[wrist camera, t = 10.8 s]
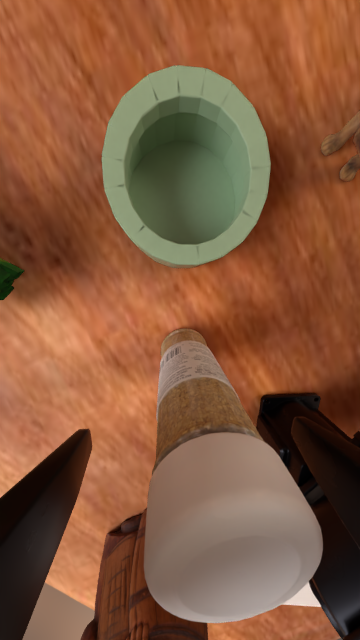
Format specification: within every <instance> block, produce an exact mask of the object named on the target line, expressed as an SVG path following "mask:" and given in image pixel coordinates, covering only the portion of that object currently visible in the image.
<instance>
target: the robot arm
mask: <svg viewBox="0 0 360 640" xmlns="http://www.w3.org/2000/svg"><path fill="white" fill-rule="evenodd" d="M266 400H267V401H266ZM319 403H320V396H318V395H317V394H316V393H307V394H284V395H265V396H263V397H262V398H261V403H260V410H259V415H258V419H257V426H256V429H257V431H258V433H259V435H260V436H261V438H262V439H263V441H265V442H266V443H267V444H268V445H269V446H270V447H271V448H273V449H274V451H275V452H276V453H277V454H278V456H279V457H280V458H281V460H282V462H283V463H284V465H285V466H286V468H287V470H288V471H289V473H290V474H291V476H292V478H293V479H294V481H295V482H296V484H297V486H298V487H299V489H300V491H301V492H302V494H303V496H304V497H305V499H306V501H307V502H308V504H309V506H310V507H311V509H312V511H313V513H314V515H315V516H316V519H317V521H318V523H319V525H320V528H321V532H322V538H323V552H322V557H321V561H320V564H319V566H318V568H317V570H316V572H315V573H314V575H313V577H312V578H311V579H310V580H309V585H310V588H311V590H312V592H313V594H314V596H315V597H316V599H317V600H318V601H319V603H320V605H321V607H322V609H323V611H324V612H325V614H326V615H327V617H328V619H329V620H330V622H331V624H332V625H333V627H334V628H335V629H336V631H337V632H338V634H339V635H340V637H341V638H342V639H343V640H360V432H359V431H358V432H357V433H356V434H355V435H354V438H353V439H351V438H350V437H348V436H347V435H346V434H345V433H344V432H343V431H342V430H340V429H339V428H338V427H337V426H336V425H335V424H334V423H332V422H331V421H330V420H329V419H328V418H327V417H326V416H325V415H323V414H322V413H321V412H320V411H319V410H318V407H319ZM91 450H92V440H91V433H90V430H89V429H79V430H78V431H76V432H75V433H74V434H73V435H72V436H71V437H69V438H68V439H67V440H66V441H65V442H64V443H63V444H61V445H60V446H59V447H58V448H57V449H56V450H55V451H53V452H52V453H51V454H50V455H49V456H48V457H47V458H45V459H44V460H43V461H42V462H41V463H40V464H39V465H37V466H36V467H35V468H34V469H33V470H32V471H31V472H29V473H28V474H27V475H26V476H25V477H24V478H23V479H21V480H20V481H19V482H18V483H17V484H16V485H15V486H13V487H12V488H11V489H10V490H9V491H8V492H7V493H5V494H4V495H3V496H2V497H1V498H0V640H22V639H23V636H24V634H25V631H26V629H27V626H28V623H29V621H30V618H31V616H32V613H33V610H34V608H35V605H36V603H37V600H38V598H39V595H40V593H41V590H42V587H43V585H44V582H45V580H46V577H47V575H48V572H49V569H50V567H51V564H52V562H53V559H54V557H55V554H56V551H57V549H58V546H59V544H60V541H61V539H62V536H63V534H64V531H65V528H66V526H67V523H68V521H69V518H70V516H71V513H72V510H73V508H74V505H75V502H76V500H77V497H78V494H79V491H80V487H81V484H82V481H83V477H84V474H85V470H86V467H87V464H88V460H89V457H90V454H91Z"/></svg>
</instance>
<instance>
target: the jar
mask: <svg viewBox="0 0 360 640" xmlns="http://www.w3.org/2000/svg"><path fill="white" fill-rule="evenodd" d="M270 166H271V162H270V155H269V148H268V141H267V136H266V133H265V131H264V128H263V126H262V124H261V122H260V119H259V117H258V115H257V113H256V110H255V108H254V107H253V106H252V104H251V103H250V102H249V101H248V99H247V98H246V97H245V96H244V95H243V94H242V93H241V92H240V90H239V89H238V88H237V87H236V86H235V85H234V84H232V82H231V81H230V80H228V79H226V78H224V77H222V76H220V75H218V74H217V73H215V72H213V71H211V70H209V69H207V68H206V69H205V68H200V67H189V66H179V65H177V66H175V65H174V66H171V67H168V68H165V69H162V70H159V71H156V72H153V73H150V74H148V76H145V77H144V78H143V79H142V80H141V81H140V82H139V83H137V84H136V85H135V86H134V87H133V88H132V89H131V90H129V91H128V92H127V93H126V94H125V96H123V97H122V99H121V100H120V102H119V104H118V106H117V108H116V110H115V111H114V113H113V115H112V117H111V119H110V120H109V122H108V126H107V131H106V136H105V141H104V146H103V151H102V170H103V182H104V188H105V193H106V196H107V198H108V201H109V204H110V206H111V209H112V212H113V214H114V217H115V219H116V220H117V222H118V223H119V224H120V226H121V227H122V228H123V230H124V231H125V233H126V234H127V235H128V237H129V238H130V239H131V241H132V242H133V243H134V244H135V245H136V246H137V247H138V248H139V249H140V250H141V251H142V252H144V253H145V254H146V255H148V256H149V257H150V258H152V259H153V260H154V261H155V262H158V263H160V264H163V265H166V266H169V267H172V268H193V267H196V266H199V265H202V264H205V263H208V262H211V261H214V260H217V259H220V258H221V257H223V256H225V255H226V254H228V253H229V252H230V251H232V250H233V249H234V248H236V247H237V246H238V245H240V244H241V243H242V242H243V241H244V239H245V238H246V237H247V235H248V234H249V233H250V231H251V230H252V229H253V228H254V226H255V225H256V224H257V221H258V219H259V216H260V214H261V211H262V209H263V206H264V204H265V201H266V198H267V195H268V187H269V178H270V169H271V167H270Z"/></svg>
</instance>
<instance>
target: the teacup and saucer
mask: <svg viewBox="0 0 360 640" xmlns="http://www.w3.org/2000/svg"><path fill="white" fill-rule="evenodd" d="M283 604H285V605H301V606H316V607H321V605H320V603H319V601H318V600H317V599H316V597H315V596H314V594H313V592H312V590H311V588H310V585H309V582H308V583H307V584H306V585H305V586H304V587H303V588H302V589H301V590H300V591H299V592H298V593H297V594H295V595H294V596H293V597H292V598H290V599H289V600H287V601H286V602H284V603H283Z"/></svg>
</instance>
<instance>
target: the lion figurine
mask: <svg viewBox="0 0 360 640" xmlns="http://www.w3.org/2000/svg"><path fill="white" fill-rule="evenodd" d="M354 134H355V136H354V139H353V143H355V145H356V149H357V154H358V155H356V156H354V157H352V158H351V159H350V160H349V161H348V163H347V164H346V165H345V166H344V167H343V168H342V169H341V171H340V173H339V174H340V179H341V180H343V181H351V180H352V179H353V178H354V177H355V174H356V172H357V171H358V170H359V169H360V110H359V111H358V112H357V114H356V115H355V116H354V117H353V118H352V119H351V120H350V121H349V122H348V123H347V124H346V125H345V126H344V127H343V129H342V130H340V131H339V132H338V133H336V134H331V135H328V136H327V137H326V138H325V139H324V140H323V142H322V145H321V151H322V153H323V154H324V155H325V156H327V155H329V154H331V153H333V152H334V151H337V150H338V149H340V148H341V147H342V145H343V144H344V143H345V142H346V141H347V140H348V139H349V138H350V137H351V136H352V135H354Z"/></svg>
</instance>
